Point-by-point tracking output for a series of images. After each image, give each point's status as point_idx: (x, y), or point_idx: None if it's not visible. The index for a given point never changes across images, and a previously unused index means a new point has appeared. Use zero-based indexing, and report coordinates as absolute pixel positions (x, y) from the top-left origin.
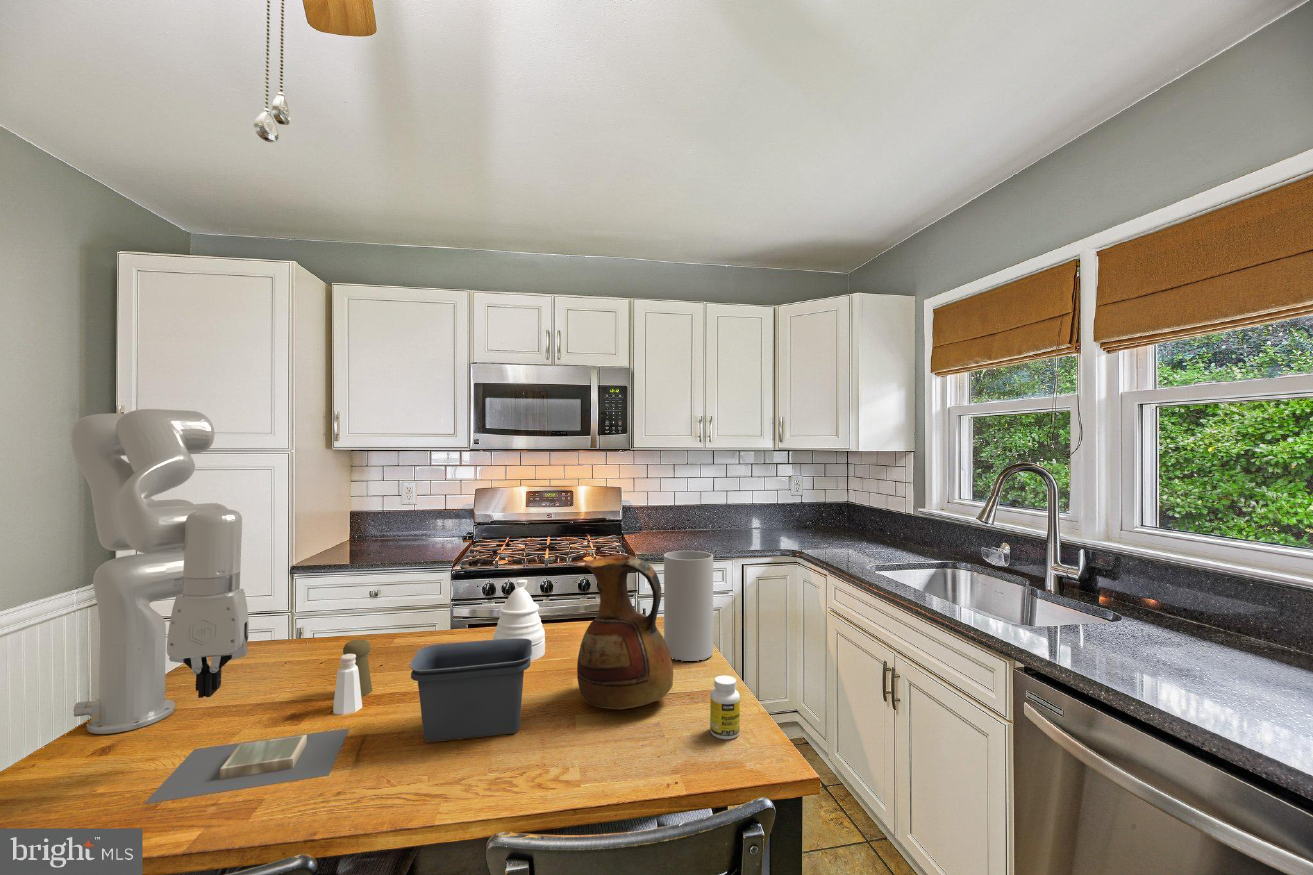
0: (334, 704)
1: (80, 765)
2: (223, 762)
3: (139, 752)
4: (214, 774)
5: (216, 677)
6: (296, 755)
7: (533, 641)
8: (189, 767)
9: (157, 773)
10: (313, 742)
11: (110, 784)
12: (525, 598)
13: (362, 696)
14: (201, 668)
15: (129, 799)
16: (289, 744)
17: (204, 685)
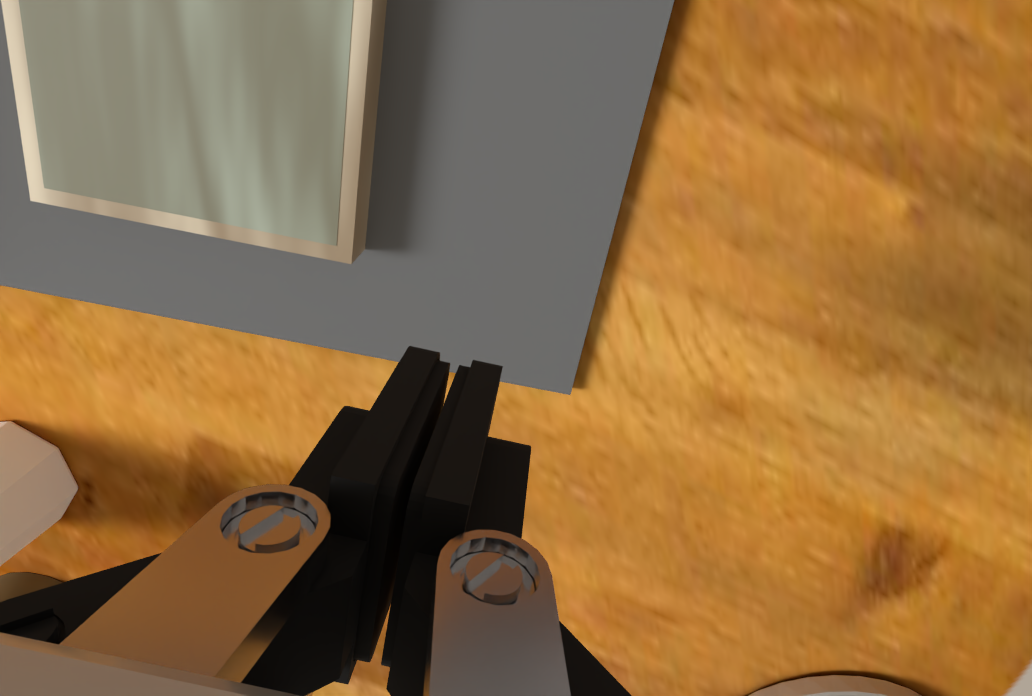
0: (31, 494)
1: (968, 483)
2: (416, 182)
3: (774, 489)
4: (429, 61)
5: (307, 471)
6: None
7: None
8: (559, 211)
9: (687, 252)
10: None
11: (859, 244)
12: None
13: (3, 575)
14: (434, 583)
15: (774, 26)
16: (80, 114)
17: (437, 424)
